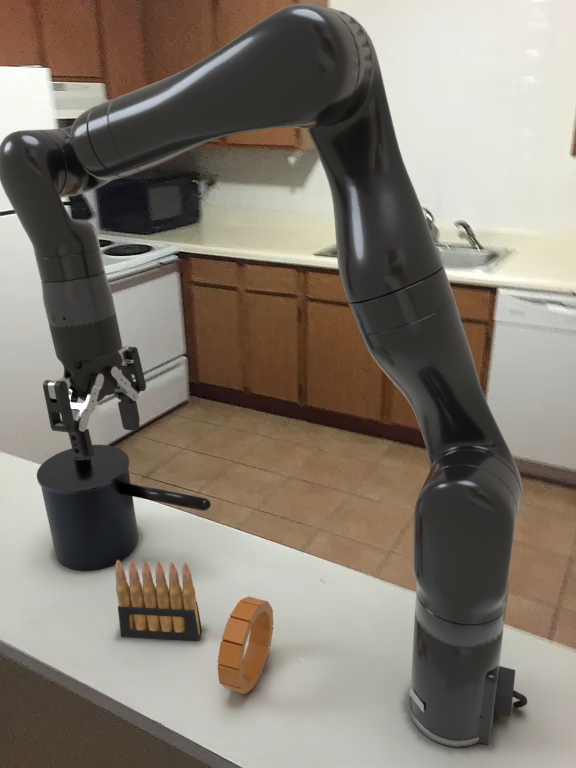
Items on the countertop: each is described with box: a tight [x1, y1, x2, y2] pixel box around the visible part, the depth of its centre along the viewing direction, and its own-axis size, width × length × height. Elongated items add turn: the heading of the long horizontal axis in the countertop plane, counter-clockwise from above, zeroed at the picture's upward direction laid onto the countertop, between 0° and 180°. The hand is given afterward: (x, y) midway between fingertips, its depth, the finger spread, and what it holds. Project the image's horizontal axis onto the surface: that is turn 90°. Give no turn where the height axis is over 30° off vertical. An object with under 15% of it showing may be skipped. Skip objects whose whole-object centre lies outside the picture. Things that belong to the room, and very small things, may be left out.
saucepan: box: [36, 444, 212, 572], centre depth 102 cm, size 28×14×16 cm, turn 69°
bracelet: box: [217, 596, 274, 695], centre depth 80 cm, size 3×10×10 cm, turn 159°
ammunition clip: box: [114, 559, 203, 642], centre depth 87 cm, size 11×2×12 cm, turn 84°
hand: (110, 443), depth 82 cm, fingers open, 8 cm apart
